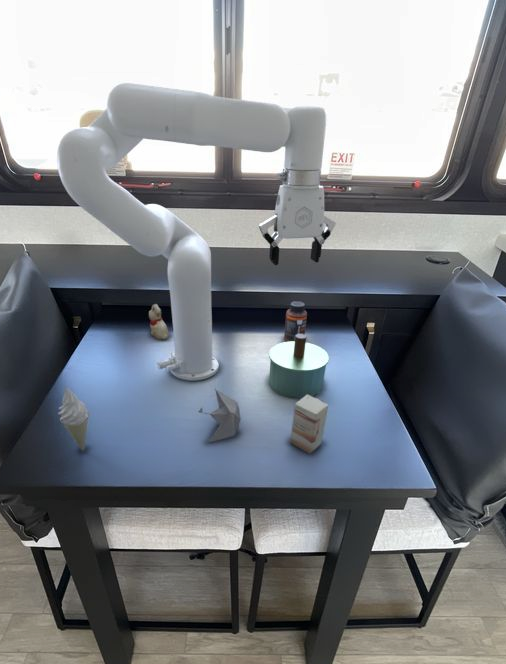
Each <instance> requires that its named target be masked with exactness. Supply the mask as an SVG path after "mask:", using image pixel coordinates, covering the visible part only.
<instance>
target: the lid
mask: <svg viewBox="0 0 506 664" xmlns="http://www.w3.org/2000/svg"><path fill="white" fill-rule="evenodd" d="M268 358H269V361H272V362H273V363H274V364H275V365H277V366H279V367H281V368H283V369H286V370H290V371H296V372H311V371H316V370H319V369H321V368H323V367H325V366H326V367H327V365H328V364H329V362H330V361H329V360H330V356H329V354H328V352H327V351H326V350H325V349H324V348H322V347H320V346H319V345H316V344H313V343H310V342H307V335H306V334H305V335H304V334H296V335H295V341H290V342H287V341H283V342H280V343H277V344H275V345H274V346H272V347H271V348H270V349H269V351H268Z"/></svg>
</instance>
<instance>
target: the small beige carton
mask: <svg viewBox="0 0 506 664" xmlns="http://www.w3.org/2000/svg"><path fill="white" fill-rule="evenodd" d="M294 404H295V405H294V409H293V410H294V411H293V412H294V413H293V419H292V425H291V433H290V438H289V439H290V440H289V442H290V444H291V445H294V446H295V447H297V448H299V449H300V450H302V451H304V452H306V453H308V454H311V453H313V451H315V450H316V449H317V448H318V447H319V446H321V444H322V441H323V437H324V432H325V426H326V422H327V421H326V420H327V417H328V416H327V415H328V411H329V404H328V403H327V402H325V401H322V400H321V399H319V398H317V397H315V396H310V395H308V394H307V395H306V396H304V397H303V398H299V400H298V401H296V402H295V403H294Z"/></svg>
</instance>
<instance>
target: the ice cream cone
mask: <svg viewBox="0 0 506 664" xmlns="http://www.w3.org/2000/svg"><path fill="white" fill-rule="evenodd" d="M61 399H62V401H61V402H62V405H61V406H60V407H58V410H60V411H59V412H58V413H57V414H58V415H59V416H61V417H60V418H59V421H60V423H61V424H62V425H63V426H64V428H65V429H66V430H67V432H68V433H69V435H70V436H71V438H72V440H74V442H75V443H76V445H77V446H78V448H79V449H80V450H81V451H82V452H84V451H85V446H86V439H87V432H88V425H89V424H88V423H89V417H90V413H89V412H88V410H87V409H88V408H87V405H86V404H85V403H84V402H83V401H82V400H79V399H78V396H77V395H76V394H74V393H73V392H72V391H71V389H70V388H69V387H68V386H67V385H66V386H65V390H64V394H63V396H62V398H61Z"/></svg>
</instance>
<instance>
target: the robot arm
mask: <svg viewBox="0 0 506 664" xmlns="http://www.w3.org/2000/svg"><path fill="white" fill-rule="evenodd" d="M327 117H328V115H327V111H326V109H325V108H324V107H321V106H313V105H312V106H311V105H309V106H308V105H305V106H304V105H303V106H302V105H301V106H293V107H291V108H290V107H282V106H280V105H278V104H275V103H270V102H262V101H253V100H246V99H238V98H230V97H223V96H216V95H212V94H208V93H205V92H200V91H195V90H188V89H187V90H185V89H179V88H178V89H177V88H169V87H162V86H154V85H146V84H140V83H130V82H125V83H119V84H117V85H115V86H113V87H112V89H111V90H110V92H109V94H108V95H107V99H106V108H105V109H104V110H103V111H102V112H101V113H100V114H99V115H98V116H97V117H96V118H95V119H94V120H93V121H92V122H91V123H90V124H89V125H88V126H85V127H84V126H82V127H76V128H73V129H71V130H69V131H67V132H66V133H65V134H64V135H63V137H62V138H61V139H60V141H59V144H58V147H57V153H56V165H57V170H58V175H59V178H60V180H61V181H60V182H61V184H62V186H63V187H64V189H65V190H66V192H67V194H68V195H69V196H70V198H71V199H72V201H74V202H75V203H76V204H77V205H78V206H79V207H80V208H82V209H83V210H84V211H85V212H87V213H88V215H90V216H91V217H93V218H95V219H96V220H97V221H98V222H100V223H101V224H102V225H104V226H105V227H106V228H107V229H109V230H110V231H111V232H113V234H115V235H116V236H117V237H119V238H120V239H121V240H123V241H124V242H125V243H126V244H128V245H129V246H130V247H132V248H133V249H134V250H135V251H137V252H138V253H139V254H140V255H143V256H144V257H145V256H146V257H148V258H149V257H150V258H154V257H158V256H162V257H164V258H165V259H167V261H168V262H167V283H168V288H169V297H170V308H171V318H172V331H173V346H174V352H171V353H170V355H171V357H168V358H167V359H165V360H161V361H160V360H159V361H157V362H156V365H157V368H158V370H162V369H165V370H166V372H170V373H171V374H172V375H173V376H174V377H176V378H178V379H180V380H183V381H202V380H205V379H210V378H211V377H213V376H214V375H216V373H218V371H219V367H220V365H219V361H218V360H217V359H216V357H214V356H213V314H212V313H213V312H212V252H211V248H210V246H209V244H208V243H207V241H206V240H205V239H204V238H203V237H202V236H201V235H200V234H199V233H197V232H196V231H195V230H194V229H192V228H191V227H190V226H189V225H188V224H186V223H185V222H184V221H183V220H181V218H179V217H178V216H176V214H174V213H173V212H172V211H171V210H169V209H168V208H166V207H164V206H162V205H160V204H157V203H147V204H144V203H143V202H141V200H139V199H138V198H136V197H135V196H134V195H133V194H131V192H130V191H128V190H127V189H125V188H124V187H123V186H121V184H118V183H116V182H115V181H114V180H113V179H112V178H110V176H109V175H108V174H107V173H108V172H109V171H111V170H112V169H113V168H115V166H117V165H118V164H119V163H120V162H121V161H122V160H123V159H124V158H125V157H126V156H127V155H128V154H129V153H131V151H132V150H134V149H135V147H137V146H138V145H139V144H140V143H141V142H142V141H143V140H153V141H162V142H170V143H177V144H186V145H194V146H195V145H196V146H199V147H207V146H209V147H220V148H228V149H236V150H242V151H244V150H245V151H251V152H260V153H261V152H262V153H274V152H276V151H279V150H280V149H281V148H284V162H283V163H284V164H283V169H282V171H281V172H277V174H276V180H277V181H281V183H282V185H281V184H280V185H279V189H278V191H277V197H276V202H275V209H274V215H273V216H271V217H270V218H268V219H266V220H265V221H263V222H260V223H259V225H258V229H259V230H260V233H261V235H262V237H263V239H265V241H266V242H267V243H268V244H269V257H268V258H269V260H270V262H271V263H272V264H273V265H274V266H278V265H279V260H280V246H279V244H280V242H281V241H282V240H283V239H287V240H289V239H305V238H306V239H309V238H313V241H312V242H311V248H310V260H312V261H313V262H314V263H319V261H320V258H321V255H322V247H323V245H324V244H325V242H326V240H327V239H328V238H329V237H330V236H331V233H332V232H333V230H334V229H335V226H336V224H337V223H336V222H335V221H334V220H332V219H331V218H329V217H327V216H325V191H324V189H325V188H324V186H323V185H320V184H321V176H322V167H323V158H324V157H323V155H324V149H325V147H324V146H325V137H326V129H327V121H328V119H327ZM324 224H325V227H324ZM272 226H273V234H272V235H271V234H270V233H269V230H268V229H269V228H271V227H272Z"/></svg>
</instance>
